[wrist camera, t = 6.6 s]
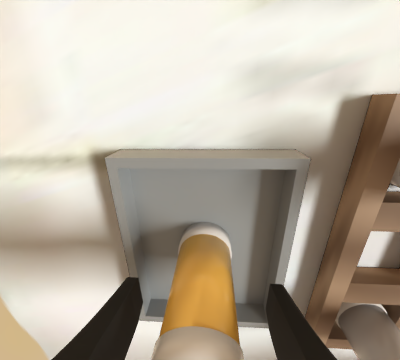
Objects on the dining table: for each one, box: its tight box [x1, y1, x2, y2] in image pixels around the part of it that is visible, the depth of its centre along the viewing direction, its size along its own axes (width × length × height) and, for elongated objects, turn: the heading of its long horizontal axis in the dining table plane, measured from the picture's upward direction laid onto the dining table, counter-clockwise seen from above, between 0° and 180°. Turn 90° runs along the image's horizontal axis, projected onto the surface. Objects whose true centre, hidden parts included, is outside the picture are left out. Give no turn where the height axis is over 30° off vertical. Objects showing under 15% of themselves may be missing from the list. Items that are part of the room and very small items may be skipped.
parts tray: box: [105, 149, 311, 328], centre depth 14 cm, size 14×11×2 cm
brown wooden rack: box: [305, 94, 400, 349], centre depth 13 cm, size 20×7×2 cm, turn 1°
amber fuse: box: [151, 222, 244, 360], centre depth 11 cm, size 4×4×8 cm
